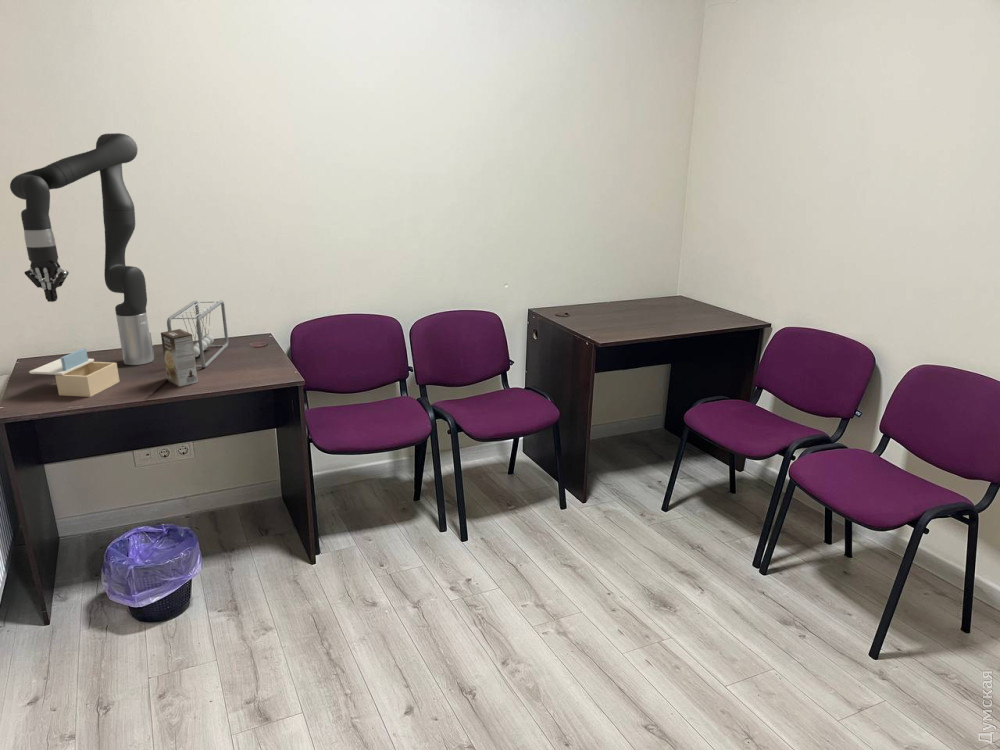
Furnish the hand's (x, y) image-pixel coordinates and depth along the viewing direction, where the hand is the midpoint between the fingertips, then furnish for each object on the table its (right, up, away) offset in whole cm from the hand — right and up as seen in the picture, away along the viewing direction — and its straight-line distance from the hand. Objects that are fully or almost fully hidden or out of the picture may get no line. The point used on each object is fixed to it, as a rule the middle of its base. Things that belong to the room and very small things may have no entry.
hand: (52, 301), depth 215 cm
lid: (+4, -20, -2) cm, 21 cm away
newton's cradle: (+31, -16, +35) cm, 50 cm away
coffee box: (+36, -25, +9) cm, 45 cm away
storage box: (+12, -27, 0) cm, 30 cm away
